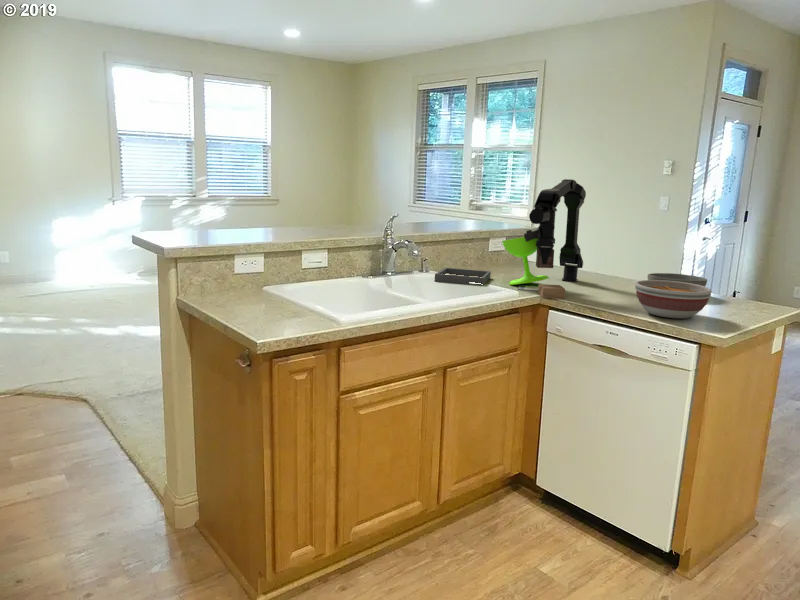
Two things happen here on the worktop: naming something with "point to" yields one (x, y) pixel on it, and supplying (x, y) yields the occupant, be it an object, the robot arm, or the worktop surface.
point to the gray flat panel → (528, 288)
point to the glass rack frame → (464, 279)
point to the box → (549, 262)
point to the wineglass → (523, 250)
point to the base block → (551, 291)
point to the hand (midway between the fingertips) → (544, 263)
